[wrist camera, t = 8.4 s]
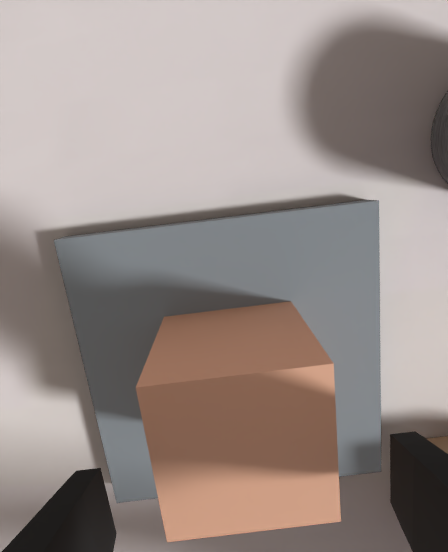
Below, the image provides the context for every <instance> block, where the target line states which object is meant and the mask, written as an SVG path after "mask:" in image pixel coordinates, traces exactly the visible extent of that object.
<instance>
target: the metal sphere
mask: <svg viewBox="0 0 448 552" xmlns="http://www.w3.org/2000/svg"><path fill="white" fill-rule="evenodd" d="M431 149H432V155H433V159H434V162H435V165H436V167H437V169H438V171H439V173H440V174H441V176H442V177H443V179H444V180H445V181H446V182H447V183H448V91H447V93H446V94H445V96H444V98H443V99H442V101H441V103H440V105H439V107H438V109H437V112H436V115H435V118H434V121H433V126H432V133H431Z"/></svg>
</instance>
